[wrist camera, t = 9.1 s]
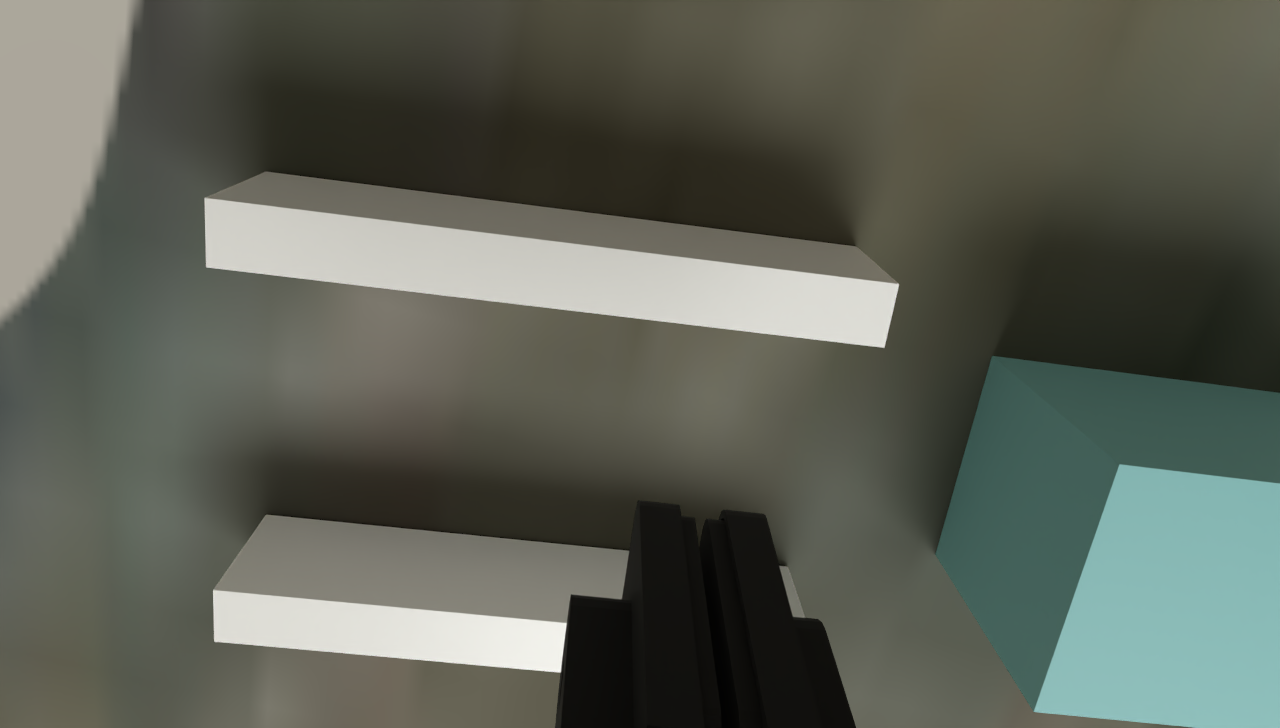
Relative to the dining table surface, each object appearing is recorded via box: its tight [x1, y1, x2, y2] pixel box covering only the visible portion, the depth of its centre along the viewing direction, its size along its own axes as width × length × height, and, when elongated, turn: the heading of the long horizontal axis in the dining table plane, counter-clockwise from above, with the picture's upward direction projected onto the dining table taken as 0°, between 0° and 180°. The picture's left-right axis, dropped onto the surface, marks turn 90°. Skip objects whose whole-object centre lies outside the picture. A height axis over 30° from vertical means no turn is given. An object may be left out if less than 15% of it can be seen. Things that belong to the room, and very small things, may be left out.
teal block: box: [935, 356, 1280, 728], centre depth 19 cm, size 5×8×6 cm, turn 82°
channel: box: [205, 172, 899, 672], centre depth 19 cm, size 9×12×3 cm
